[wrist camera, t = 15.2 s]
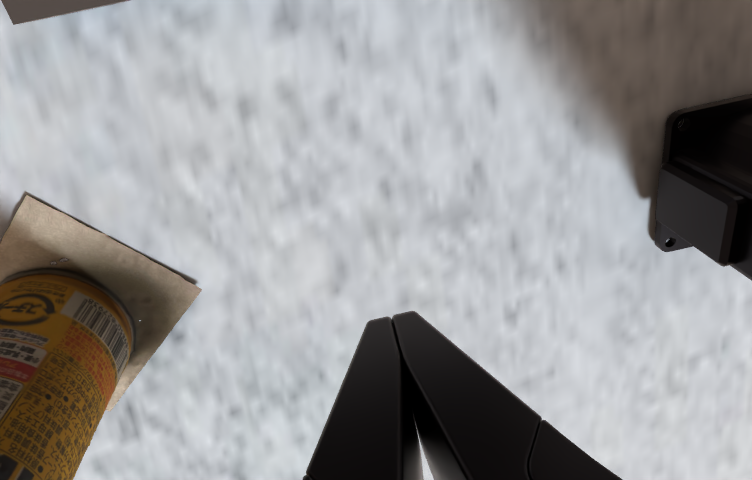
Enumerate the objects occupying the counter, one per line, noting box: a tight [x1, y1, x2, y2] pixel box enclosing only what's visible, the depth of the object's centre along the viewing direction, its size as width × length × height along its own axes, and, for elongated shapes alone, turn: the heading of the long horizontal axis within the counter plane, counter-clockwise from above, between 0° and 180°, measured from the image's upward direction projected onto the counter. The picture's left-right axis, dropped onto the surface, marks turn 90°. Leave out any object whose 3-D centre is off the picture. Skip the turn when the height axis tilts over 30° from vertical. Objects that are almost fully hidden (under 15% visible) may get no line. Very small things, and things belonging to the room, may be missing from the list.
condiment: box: [0, 195, 202, 480], centre depth 16 cm, size 7×8×12 cm
